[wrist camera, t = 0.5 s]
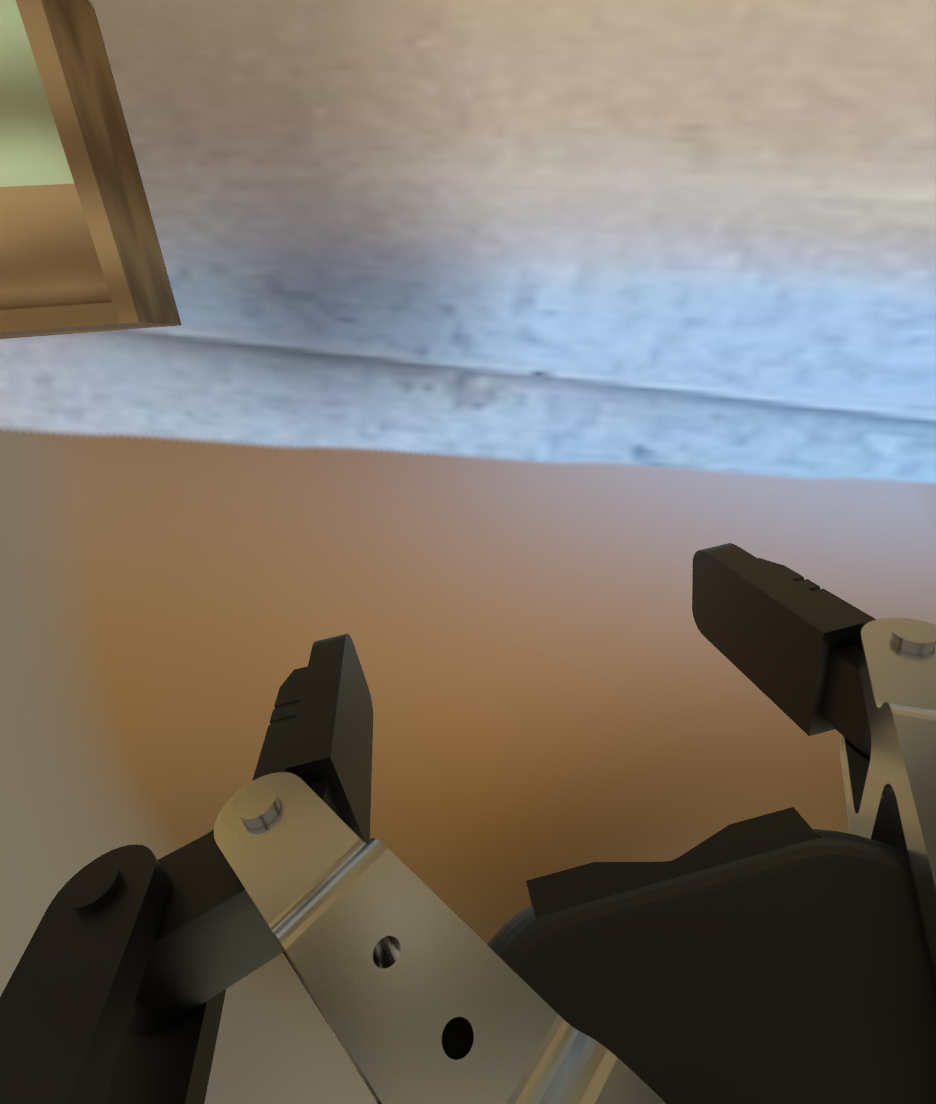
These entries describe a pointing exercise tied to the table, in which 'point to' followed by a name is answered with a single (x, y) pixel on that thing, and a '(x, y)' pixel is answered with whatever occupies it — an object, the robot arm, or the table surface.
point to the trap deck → (70, 184)
